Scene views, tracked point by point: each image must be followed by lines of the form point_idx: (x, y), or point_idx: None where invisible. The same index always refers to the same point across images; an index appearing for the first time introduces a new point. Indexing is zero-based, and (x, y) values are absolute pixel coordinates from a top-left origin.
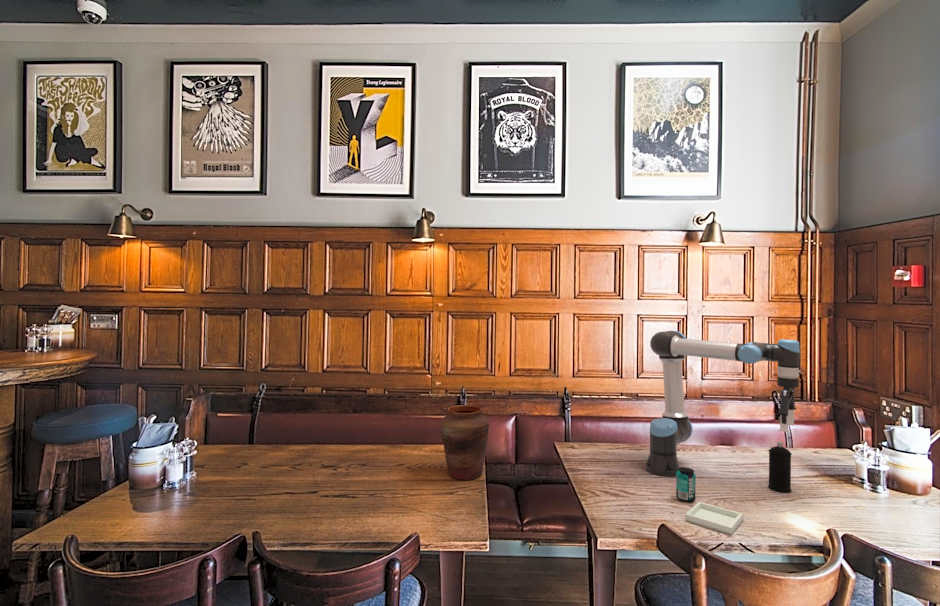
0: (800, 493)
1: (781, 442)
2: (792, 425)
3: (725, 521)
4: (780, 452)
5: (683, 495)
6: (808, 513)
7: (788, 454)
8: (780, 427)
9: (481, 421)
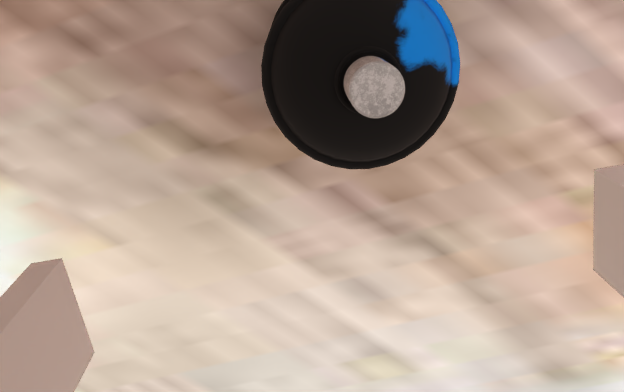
0: None
1: (368, 108)
2: (593, 258)
3: None
4: (284, 108)
5: None
6: (93, 256)
7: (326, 159)
8: (7, 299)
9: None
